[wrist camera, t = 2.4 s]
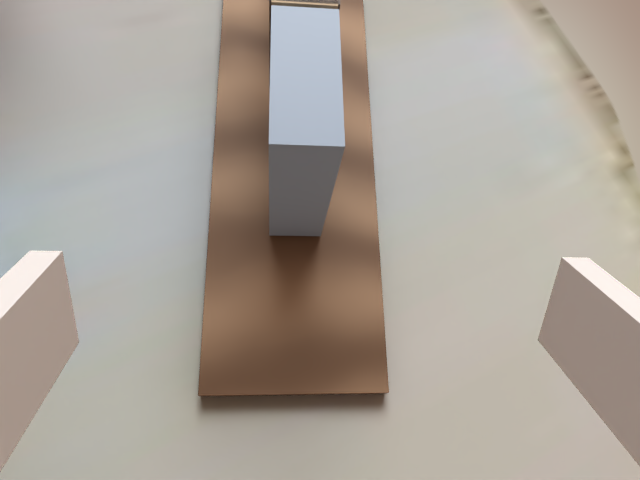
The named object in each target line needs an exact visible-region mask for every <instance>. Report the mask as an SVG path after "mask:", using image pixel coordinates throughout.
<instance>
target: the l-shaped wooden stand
mask: <svg viewBox="0 0 640 480" xmlns="http://www.w3.org/2000/svg"><path fill="white" fill-rule="evenodd" d="M271 5H276V6H293V7H309V8H326V9H339V17H340V40H341V63H342V86H343V108H344V131H345V149H344V153H343V156H342V160H341V164H340V167H339V171H338V175H337V178H336V182H335V186H334V189H333V193H332V197H331V200H330V204H329V208H328V211H327V215H326V219H325V222H324V226H323V229H322V233H321V236H271V235H269V101H270V49H271ZM378 393H389V388H388V373H387V358H386V342H385V327H384V312H383V297H382V282H381V267H380V252H379V237H378V222H377V207H376V191H375V176H374V161H373V146H372V131H371V116H370V101H369V86H368V71H367V56H366V40H365V25H364V10H363V0H223V14H222V30H221V45H220V61H219V77H218V92H217V108H216V124H215V140H214V155H213V171H212V187H211V202H210V218H209V234H208V249H207V265H206V281H205V296H204V312H203V328H202V344H201V359H200V375H199V391H198V396H258V395H318V394H378Z"/></svg>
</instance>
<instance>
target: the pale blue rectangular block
mask: <svg viewBox="0 0 640 480" xmlns="http://www.w3.org/2000/svg"><path fill="white" fill-rule="evenodd" d="M344 149H345V131H344V108H343V86H342V63H341V40H340V17H339V9H326V8H309V7H293V6H276V5H271V49H270V101H269V235H271V236H321V233H322V229H323V226H324V222H325V219H326V215H327V211H328V208H329V204H330V200H331V197H332V193H333V189H334V186H335V182H336V178H337V175H338V171H339V167H340V164H341V160H342V156H343V153H344Z"/></svg>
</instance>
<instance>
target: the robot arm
mask: <svg viewBox="0 0 640 480" xmlns="http://www.w3.org/2000/svg"><path fill="white" fill-rule="evenodd" d="M538 341H539V342H540V343H541V344H542V346H543V347H544V348H545V349H546V351H547V352H548V353H549V354H550V356H551V357H552V358H553V359H554V361H555V362H556V363H557V364H558V366H559V367H560V368H561V369H562V371H563V372H564V373H565V374H566V375H567V377H568V378H569V379H570V380H571V382H572V383H573V384H574V385H575V387H576V388H577V389H578V390H579V392H580V393H581V394H582V395H583V397H584V398H585V399H586V400H587V401H588V403H589V404H590V405H591V406H592V408H593V409H594V410H595V411H596V413H597V414H598V415H599V416H600V418H601V419H602V420H603V421H604V423H605V424H606V425H607V426H608V428H609V429H610V430H611V431H612V432H613V434H614V435H615V436H616V437H617V439H618V440H619V441H620V442H621V444H622V445H623V446H624V447H625V449H626V450H627V451H628V452H629V454H630V455H631V456H632V457H633V458H634V460H635V461H636V462H637V463H638V465H639V466H640V297H638V296H637V295H636V294H634V293H633V292H632V291H630V290H629V289H628V288H627V287H625V286H624V285H623V284H621V283H620V282H619V281H618V280H616V279H615V278H614V277H612V276H611V275H610V274H609V273H607V272H606V271H605V270H603V269H602V268H601V267H600V266H598V265H597V264H596V263H594V262H593V261H592V260H590V259H589V258H577V257H562V258H561V262H560V265H559V269H558V272H557V276H556V279H555V282H554V286H553V289H552V293H551V296H550V300H549V303H548V307H547V310H546V313H545V317H544V320H543V324H542V327H541V331H540V334H539V337H538ZM78 343H79V339H78V333H77V328H76V323H75V317H74V312H73V306H72V301H71V295H70V290H69V285H68V279H67V274H66V268H65V263H64V258H63V252H62V251H29V252H28V253H27V254H26V255H25V256H24V257H23V258H22V259H21V260H20V261H19V262H18V263H16V264H15V265H14V266H13V267H12V268H11V269H10V270H9V271H8V272H7V273H6V274H5V275H4V276H3V277H2V278H1V279H0V472H1V470H2V468H3V467H4V465H5V463H6V462H7V460H8V459H9V457H10V455H11V454H12V452H13V450H14V449H15V447H16V445H17V444H18V442H19V440H20V439H21V437H22V435H23V434H24V432H25V431H26V429H27V427H28V426H29V424H30V422H31V421H32V419H33V417H34V416H35V414H36V412H37V411H38V409H39V407H40V406H41V404H42V402H43V401H44V399H45V398H46V396H47V394H48V393H49V391H50V389H51V388H52V386H53V384H54V383H55V381H56V379H57V378H58V376H59V374H60V373H61V371H62V370H63V368H64V366H65V365H66V363H67V361H68V360H69V358H70V356H71V355H72V353H73V351H74V350H75V348H76V346H77V345H78Z"/></svg>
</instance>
